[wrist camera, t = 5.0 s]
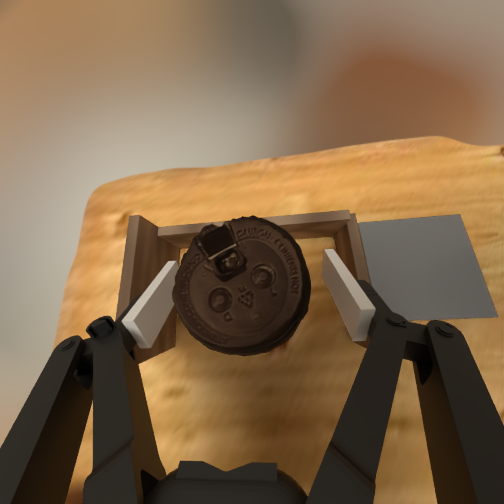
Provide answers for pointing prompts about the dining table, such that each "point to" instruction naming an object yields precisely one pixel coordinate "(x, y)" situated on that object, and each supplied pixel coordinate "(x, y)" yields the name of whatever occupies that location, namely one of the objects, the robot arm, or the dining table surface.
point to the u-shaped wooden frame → (175, 237)
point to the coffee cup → (242, 286)
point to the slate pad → (425, 268)
